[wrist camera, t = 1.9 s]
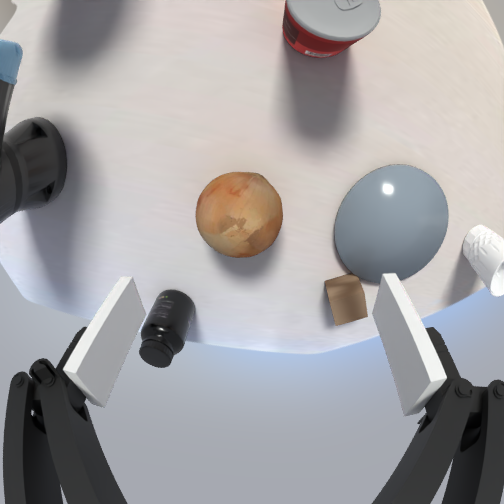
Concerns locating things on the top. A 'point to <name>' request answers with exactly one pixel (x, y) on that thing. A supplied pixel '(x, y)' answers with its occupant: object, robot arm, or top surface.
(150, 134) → the top surface
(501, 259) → the white cup
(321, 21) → the canned food
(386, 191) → the plate
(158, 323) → the supplement bottle
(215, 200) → the onion
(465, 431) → the robot arm
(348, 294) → the walnut block
